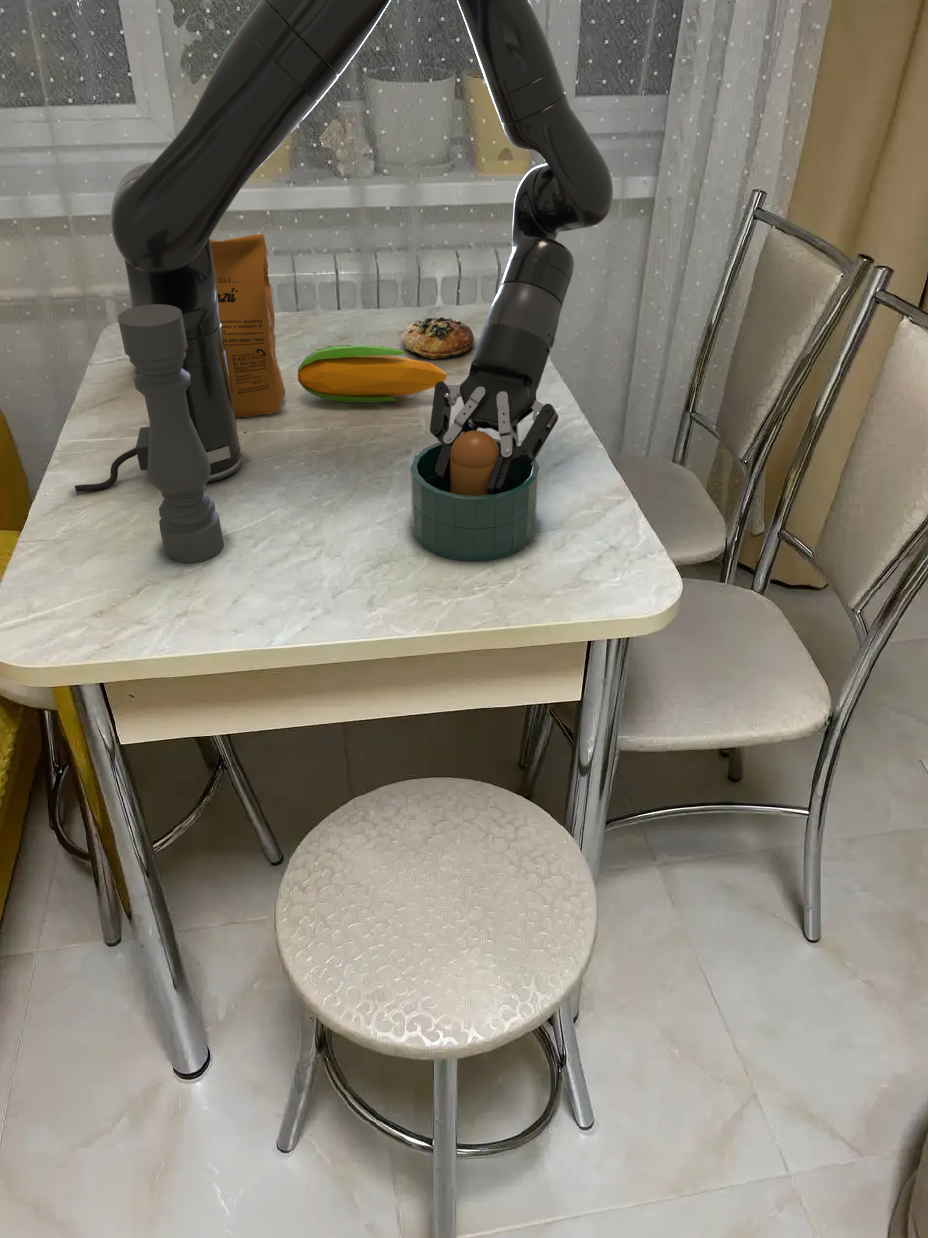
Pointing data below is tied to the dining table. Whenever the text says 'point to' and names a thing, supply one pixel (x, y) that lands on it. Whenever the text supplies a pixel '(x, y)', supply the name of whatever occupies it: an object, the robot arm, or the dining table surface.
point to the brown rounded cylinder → (472, 463)
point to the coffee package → (248, 324)
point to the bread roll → (438, 337)
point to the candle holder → (172, 432)
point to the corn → (365, 374)
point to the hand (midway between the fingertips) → (467, 487)
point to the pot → (472, 512)
